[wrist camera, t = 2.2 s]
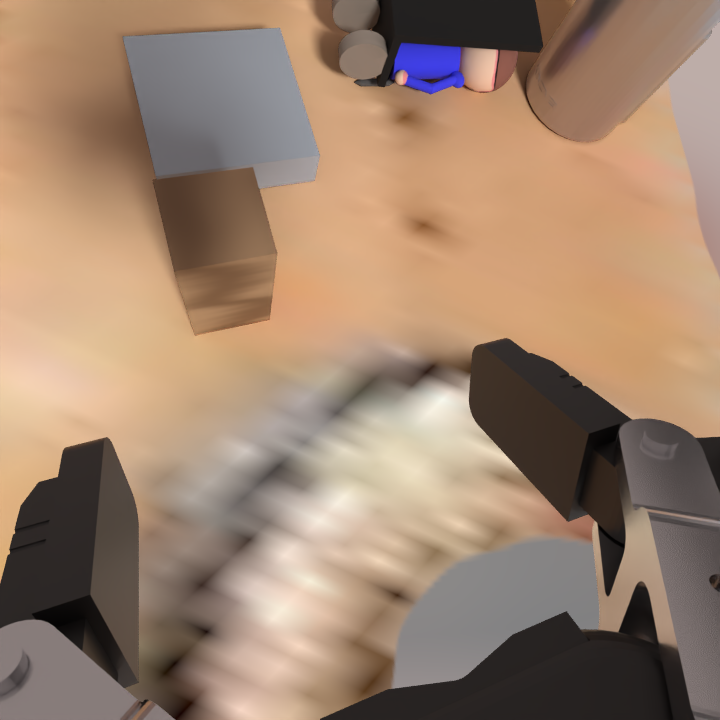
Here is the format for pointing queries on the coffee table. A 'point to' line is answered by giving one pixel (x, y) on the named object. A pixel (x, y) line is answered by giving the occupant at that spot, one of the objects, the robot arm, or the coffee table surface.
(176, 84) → the blue-grey square slab
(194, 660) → the coffee table surface
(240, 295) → the walnut block
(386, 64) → the figurine character
